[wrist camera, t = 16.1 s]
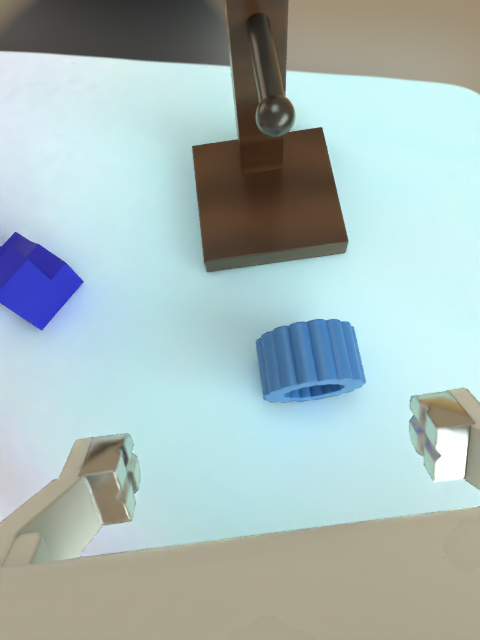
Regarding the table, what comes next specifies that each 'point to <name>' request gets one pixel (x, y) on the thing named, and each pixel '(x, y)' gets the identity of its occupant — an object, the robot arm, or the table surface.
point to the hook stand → (265, 159)
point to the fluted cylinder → (309, 361)
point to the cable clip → (34, 280)
